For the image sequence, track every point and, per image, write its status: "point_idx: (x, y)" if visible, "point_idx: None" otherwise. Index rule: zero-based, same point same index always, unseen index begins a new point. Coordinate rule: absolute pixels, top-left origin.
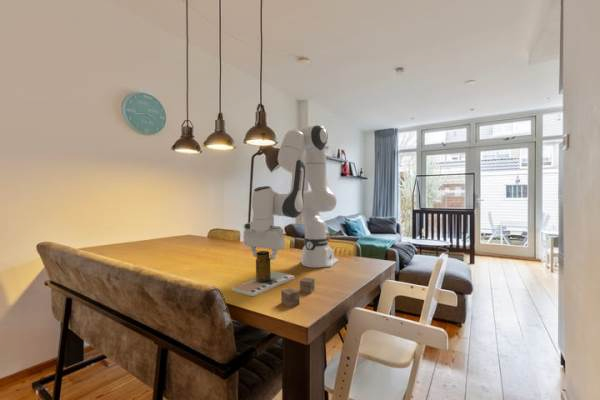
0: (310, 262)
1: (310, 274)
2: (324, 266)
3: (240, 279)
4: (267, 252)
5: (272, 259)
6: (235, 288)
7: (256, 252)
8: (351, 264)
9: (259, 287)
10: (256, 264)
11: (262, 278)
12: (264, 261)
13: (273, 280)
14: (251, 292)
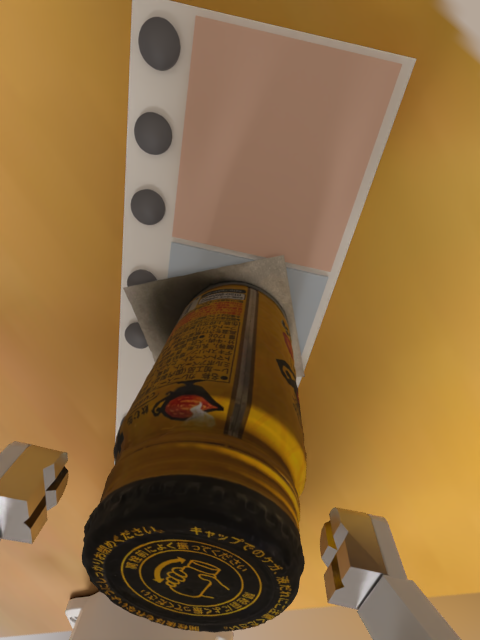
0: (139, 617)
1: (86, 513)
2: (89, 598)
3: (447, 348)
4: (91, 572)
5: (22, 443)
6: (370, 48)
7: (352, 593)
8: (23, 629)
9: (173, 177)
10: (268, 372)
11: (205, 296)
12: (139, 402)
13: (160, 346)
14: (157, 7)
